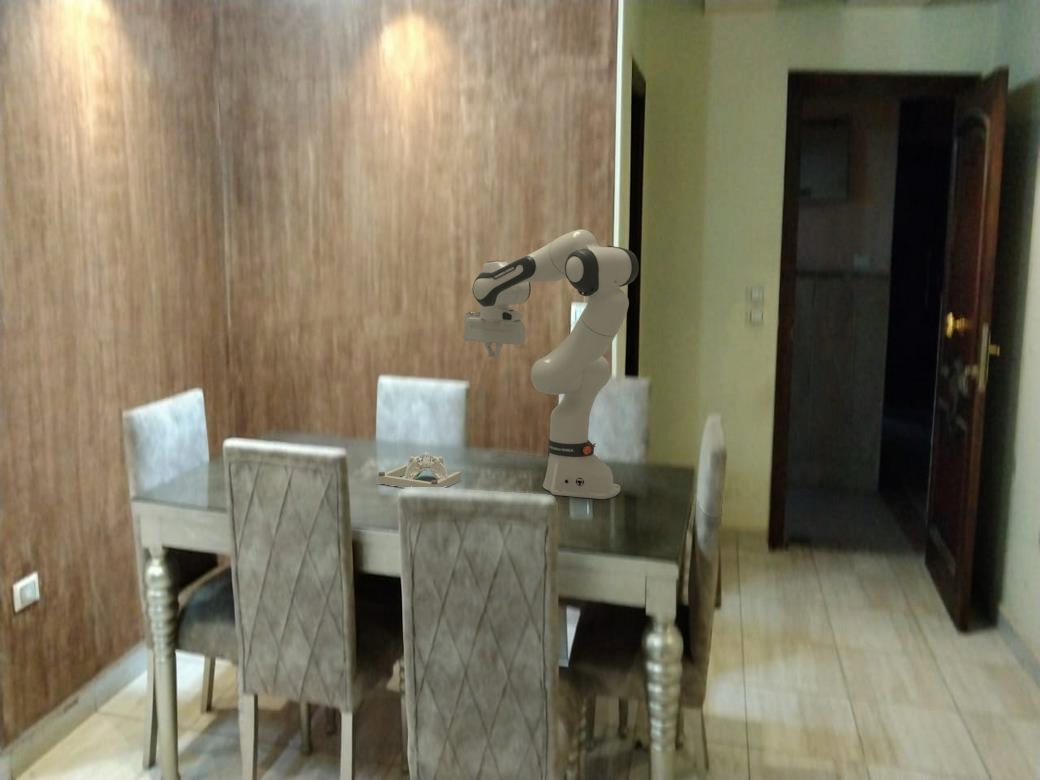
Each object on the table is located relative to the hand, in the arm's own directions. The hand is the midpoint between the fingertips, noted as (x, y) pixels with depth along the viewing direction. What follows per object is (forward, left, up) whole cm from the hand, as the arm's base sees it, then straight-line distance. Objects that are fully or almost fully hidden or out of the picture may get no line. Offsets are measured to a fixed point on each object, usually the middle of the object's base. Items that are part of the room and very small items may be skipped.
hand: (493, 357), depth 284 cm
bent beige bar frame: (+8, +31, -34) cm, 47 cm away
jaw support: (+7, +29, -34) cm, 46 cm away
